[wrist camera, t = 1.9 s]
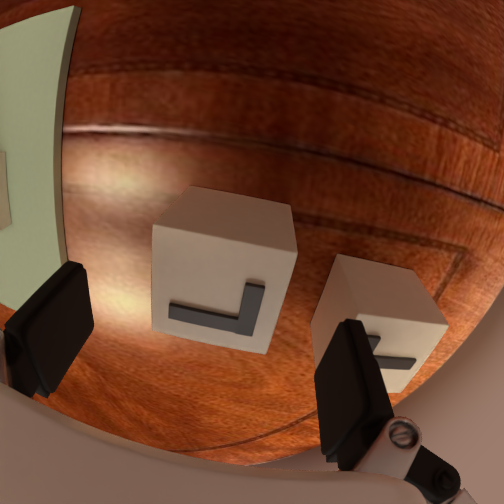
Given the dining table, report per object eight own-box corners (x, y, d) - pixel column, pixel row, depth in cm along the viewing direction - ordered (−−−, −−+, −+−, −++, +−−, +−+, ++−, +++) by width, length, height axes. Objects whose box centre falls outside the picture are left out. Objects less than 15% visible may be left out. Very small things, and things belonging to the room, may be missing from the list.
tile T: (336, 252, 15) (359, 316, 11) (413, 269, 15) (451, 328, 11) (309, 324, 18) (317, 392, 13) (380, 333, 18) (401, 396, 13)
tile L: (189, 184, 14) (150, 226, 10) (290, 204, 14) (298, 256, 10) (180, 271, 16) (150, 333, 12) (268, 288, 17) (265, 358, 12)
